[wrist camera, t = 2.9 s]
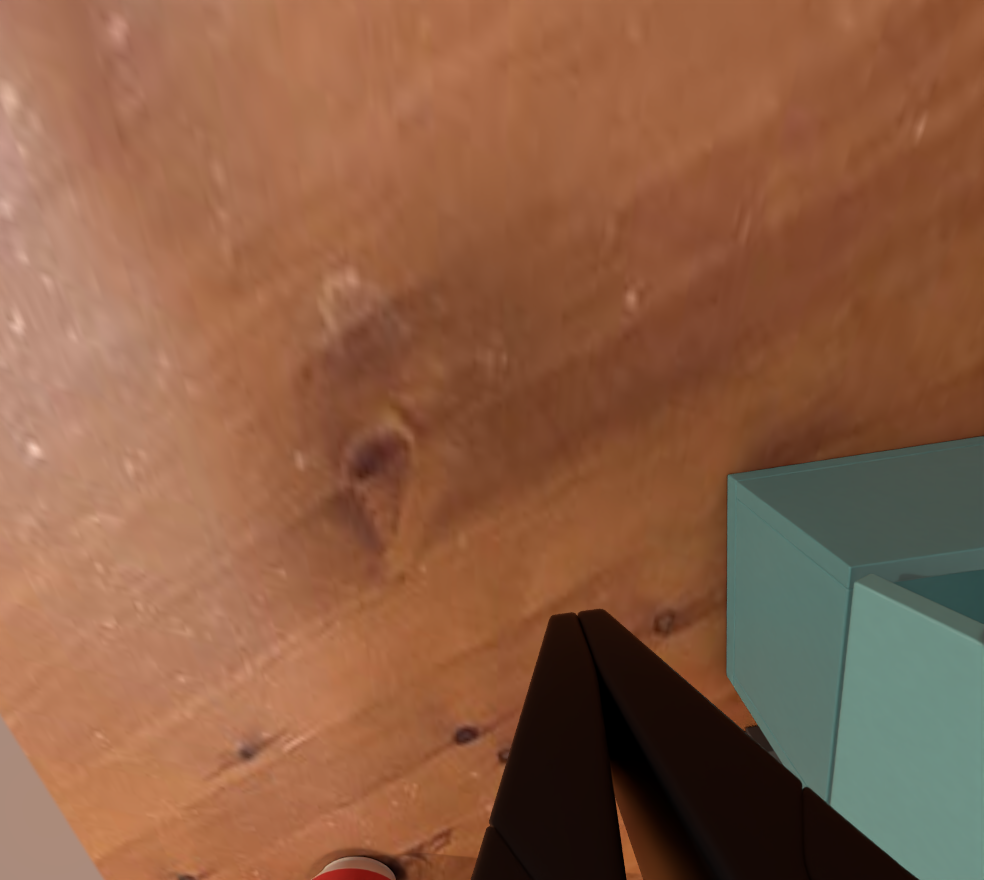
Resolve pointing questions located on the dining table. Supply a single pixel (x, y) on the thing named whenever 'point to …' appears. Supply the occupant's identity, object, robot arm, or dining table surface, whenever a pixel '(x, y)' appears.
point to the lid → (913, 731)
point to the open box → (839, 576)
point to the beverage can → (355, 870)
